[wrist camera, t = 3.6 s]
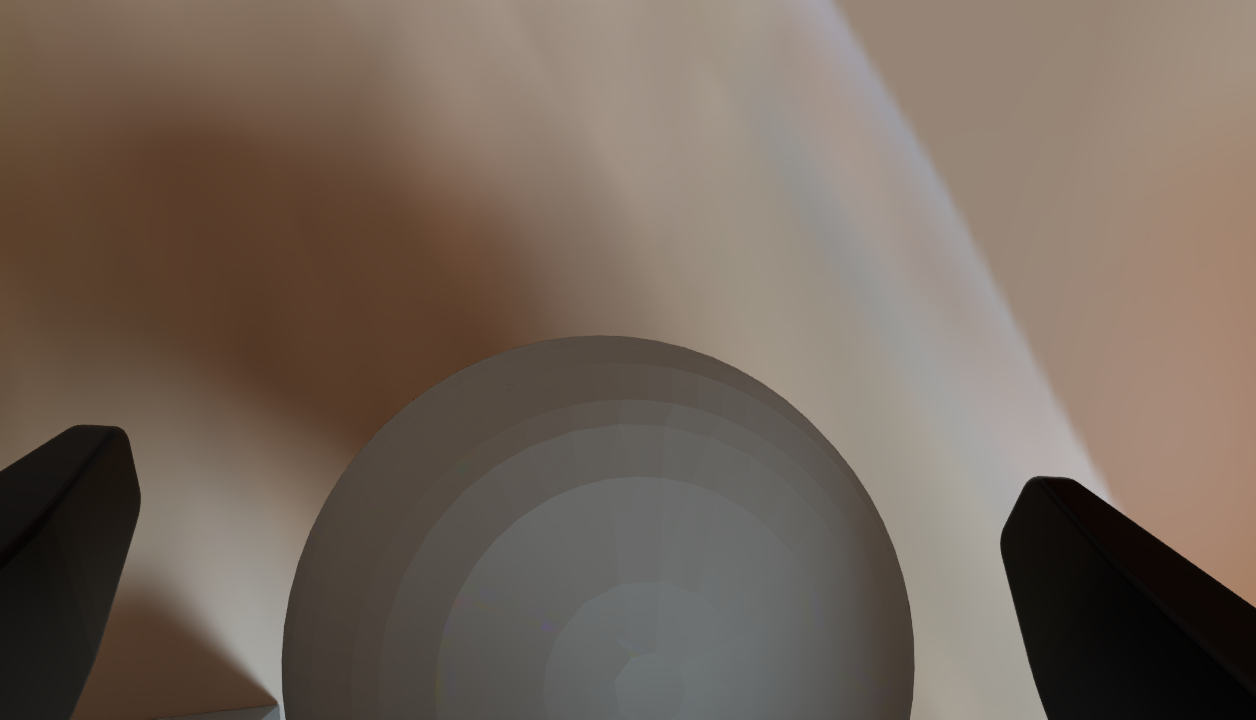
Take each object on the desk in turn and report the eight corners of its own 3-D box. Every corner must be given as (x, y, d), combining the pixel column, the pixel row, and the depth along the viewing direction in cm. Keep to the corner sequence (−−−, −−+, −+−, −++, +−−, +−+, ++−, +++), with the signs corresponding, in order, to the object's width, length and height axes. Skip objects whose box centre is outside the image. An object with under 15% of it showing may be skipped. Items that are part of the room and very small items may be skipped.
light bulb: (369, 439, 16) (166, 312, 6) (690, 401, 17) (973, 235, 7) (400, 784, 15) (225, 1285, 5) (736, 726, 16) (1126, 1063, 6)
